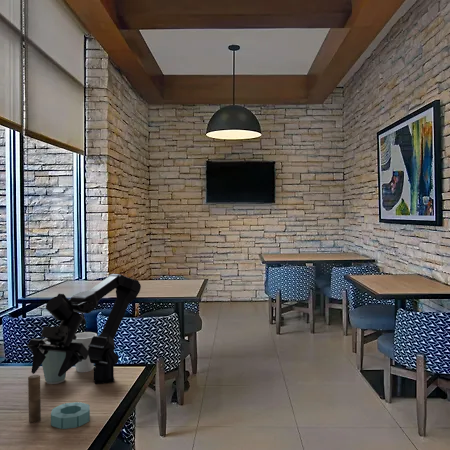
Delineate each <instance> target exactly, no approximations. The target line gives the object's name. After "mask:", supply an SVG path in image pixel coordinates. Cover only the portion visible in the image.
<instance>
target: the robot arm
mask: <svg viewBox="0 0 450 450" xmlns="http://www.w3.org/2000/svg"><path fill="white" fill-rule="evenodd" d="M141 288H142V286H141V283H140V281H139V280H137V279H133V278H130V277H128V276H127V277H126V276H125V275H123V274H119V273H110V274H109V275H108V277H105V278H104V279H103V280H102V281H101V282H99V283H97V284H96V285H95V286H94V285H93V287H92V288H90V289H89V290H85V291H80V292H78V293H76V294H74V295H72V296H71V297H70V299H68V298H67V296H66V295H65V294H64V293H57V295H56V296H54V297H52V298H51V299H50V300H48V301H47V302H46V304H45V309H46V310H47V312H48V313H50V315H52V317H54V318H55V319H56V321H58V322H60V323H59V325H58V326H43V329H42V332H41V335H40V336H41V338H44V339H45V338H48V339H47V341H48V342H50V344H46V343H45V342H44V341H43V339H39V338H32V339H29V342H28V343H27V348H29V350H30V351H31V353H32V362H31V363H32V365H31V374H32V375H35V374H36V372H37V371H38V370H39V369H40V367H41V366H42V362H43V361H44V359H45V358H46V356H45V355H46V354H47V353H48V351H54V352H65V353H66V357H65V359H64V362H63V364H62V366H61V368H60V370H59V373H58V376H59V377H61V376H62V375H63V374H64V373H65V372H66V373H67V372H68V371H69V370H70V369H71V368H73V367H74V366H75V364H77V363H78V362H81V361H82V360H86V359H87V356H89V359H90V362H91V363H94V367H93V370H92V372H93V381H94V384H95V385H98V384H99V385H100V384H109V383H115V377H114V374H115V373H114V371H115V370H114V367H115V365H117V364H118V363H119V358H120V357H119V355H118V354H117V353H116V352H115V348H116V346H115V337H116V335H117V333H118V330H119V328H120V326H121V323H122V321H123V319H124V316H125V314H126V312H127V309H128V307H129V304H130V303H132V301H134V300H135V299H137V297H138V295H139V294H140V291H141ZM113 290H115V296H116V300H115V302H114V303H113V305H112V308H111V311H110V312H109V315H108V316H107V320H106V322H105V324H104V326H103V328H102V330H101V332H100V333H99V335H97V336H93V338H92V340H91V343H90V344H89V346H88V347H89V348H88V350H87V349H86V347H85V346H84V345H83V344H82V343H75V342H72V340H76V338H77V337H76V335H75V334H77V333H78V332H77V331H78V330H79V327H80V325H86V323H87V322H86V319H85V316H84V315H81V314H91V312H92V311H94V309H96V307H97V306H98V304H99V303H98V302H99V301H100V300H102V299H103V298H104V297H106V296H107V295H108V294H109V293H111V292H112V291H113Z"/></svg>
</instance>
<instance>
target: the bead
mask: <svg viewBox="0 0 450 450" xmlns="http://www.w3.org/2000/svg"><path fill="white" fill-rule="evenodd" d="M90 407H91V406H90V404H88V403H84V402H81V401H76V402H67V403H66V402H65V403H62V404H59V405H57V406H56V407H53V408H52V409H51V413H50V425H51V427H54V428H57V429H60V430H62V429H63V430H65V429H67V430H68V429H75V428H79V427H81V426H83V425H85V424H87V423H89V422H90V417H91V416H90V414H91V410H90V409H91V408H90Z"/></svg>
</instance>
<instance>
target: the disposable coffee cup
mask: <svg viewBox="0 0 450 450" xmlns="http://www.w3.org/2000/svg"><path fill="white" fill-rule="evenodd" d="M47 339H48V338H45V337H44V338H43V339H42V340H43V341H44V342H45V343H46V344H50V342H48V341H47ZM45 356H46V358H45V359H44V361H43V362H42V364H41V366H42V373H43V376H44V381H45V382H46V383H45V384H48V385H58V384H61V383H63V382H65V380H66V378H67V377H66V376H67V372H65V373H64V374H63V375H62V376H61V377H59V376H58V373H59V370H60V368H61V366H62V364H63V362H64V359H65V357H66V353H65V352H54V351H48V353H47V354H46V355H45Z"/></svg>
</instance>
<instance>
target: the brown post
mask: <svg viewBox="0 0 450 450" xmlns="http://www.w3.org/2000/svg"><path fill="white" fill-rule="evenodd" d="M27 389H28V390H27V391H28V422H29V423H38V422H40V421H41V420H42V413H41V412H42V409H41V406H42V405H41V403H42V402H41V401H42V400H41V399H42V398H41V375H39V374H32V375H30V376H28V377H27Z"/></svg>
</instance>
